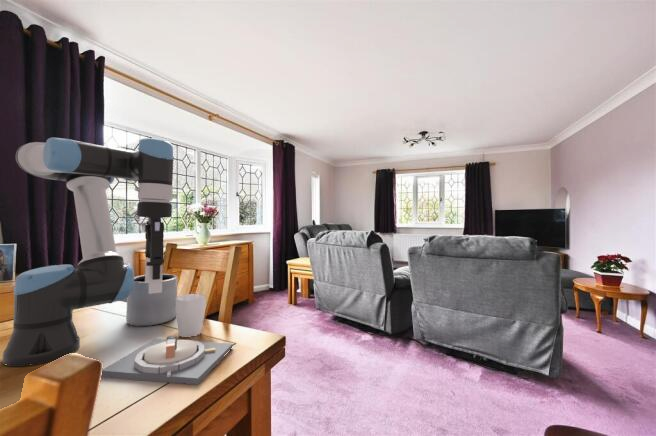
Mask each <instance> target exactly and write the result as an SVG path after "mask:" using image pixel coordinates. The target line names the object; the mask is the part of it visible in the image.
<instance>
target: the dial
mask: <svg viewBox="0 0 656 436" xmlns="http://www.w3.org/2000/svg"><path fill="white" fill-rule="evenodd" d="M166 339H167V341H166V342H162V343H159V344H156V345H154V346H152V347H150V348H149V349H147V350H146V351H145V356H144V362H146V363H147V364H158V365H163V364H169V363H176V362H179V361H182V360H185V359H187V358H190V357H192V356H193V355H194V354H196V353H197V344H196V343H195V342H193V341H190V340H191V339H183V340H182V339H178V336H177V335H170V336H167V337H166Z"/></svg>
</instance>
